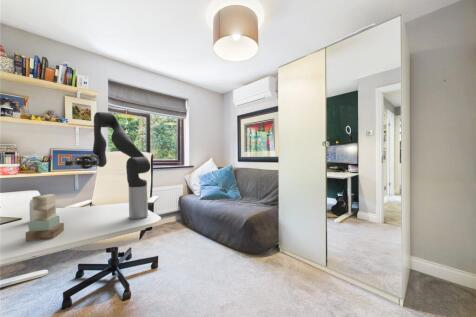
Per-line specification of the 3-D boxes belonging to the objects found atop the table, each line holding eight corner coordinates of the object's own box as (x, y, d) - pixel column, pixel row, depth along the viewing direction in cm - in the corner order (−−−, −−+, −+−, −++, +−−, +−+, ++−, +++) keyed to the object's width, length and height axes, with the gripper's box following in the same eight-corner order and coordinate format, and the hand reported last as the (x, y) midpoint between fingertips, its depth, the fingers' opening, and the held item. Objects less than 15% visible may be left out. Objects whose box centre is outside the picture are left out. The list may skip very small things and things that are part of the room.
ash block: (55, 216, 90) (54, 194, 90) (47, 220, 85) (46, 196, 85) (42, 217, 89) (41, 194, 89) (33, 221, 84) (32, 197, 84)
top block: (59, 224, 92) (59, 215, 92) (48, 230, 85) (48, 220, 85) (41, 225, 90) (41, 216, 90) (28, 231, 84) (28, 221, 83)
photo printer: (57, 217, 112) (56, 195, 112) (55, 219, 109) (54, 196, 108) (31, 220, 107) (30, 197, 106) (28, 223, 103) (27, 199, 103)
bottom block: (63, 231, 94) (63, 222, 94) (53, 239, 85) (53, 230, 85) (39, 233, 91) (39, 225, 91) (26, 242, 82) (25, 232, 82)
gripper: (74, 156, 121) (60, 156, 106) (101, 155, 126) (92, 156, 111) (74, 168, 122) (60, 171, 106) (102, 167, 126) (92, 170, 111)
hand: (77, 163), depth 108 cm, fingers open, 8 cm apart
